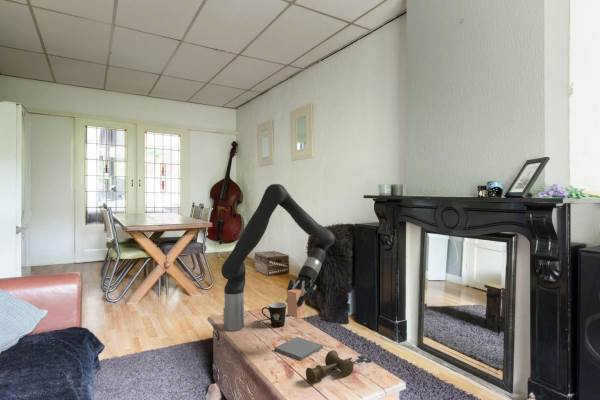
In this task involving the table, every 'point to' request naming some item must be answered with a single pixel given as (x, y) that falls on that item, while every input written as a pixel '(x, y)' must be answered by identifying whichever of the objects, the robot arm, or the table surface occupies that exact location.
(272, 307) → the coffee mug
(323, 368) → the kendama
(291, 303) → the terracotta block
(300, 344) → the slate tile
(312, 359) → the table surface
